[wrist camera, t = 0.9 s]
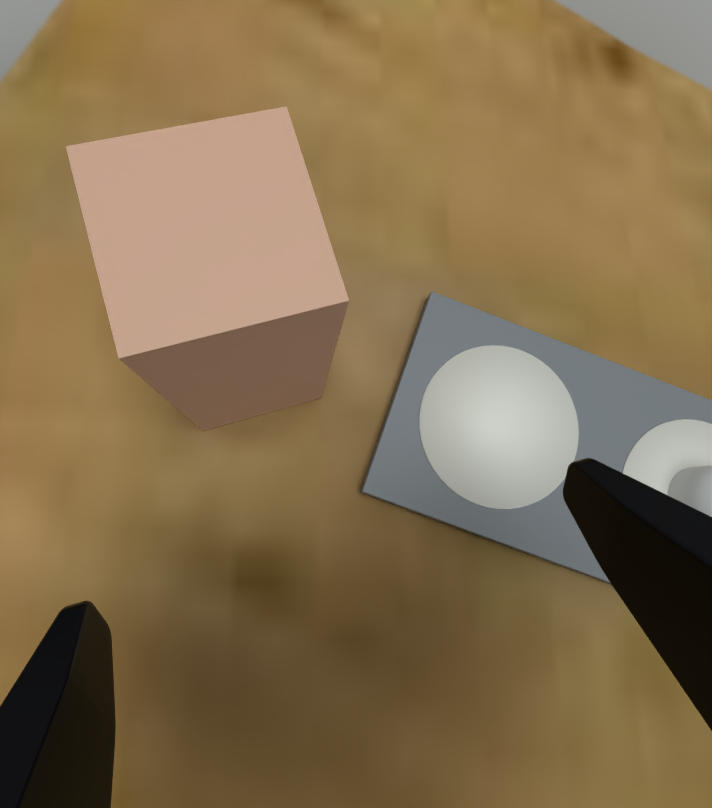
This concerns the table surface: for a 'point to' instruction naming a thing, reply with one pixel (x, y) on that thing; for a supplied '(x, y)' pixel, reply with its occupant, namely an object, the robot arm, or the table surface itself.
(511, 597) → the table surface
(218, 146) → the pink block
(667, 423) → the plate
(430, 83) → the table surface
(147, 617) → the table surface
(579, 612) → the table surface
